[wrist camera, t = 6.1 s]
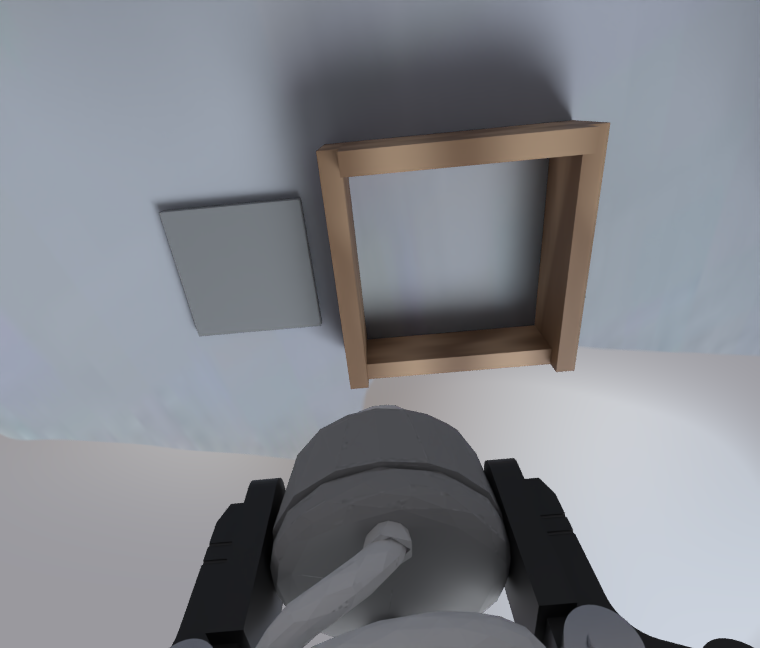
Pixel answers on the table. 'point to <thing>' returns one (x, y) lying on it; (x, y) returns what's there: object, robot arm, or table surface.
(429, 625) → the light bulb
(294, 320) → the slate mat
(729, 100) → the table surface
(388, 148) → the wooden frame
